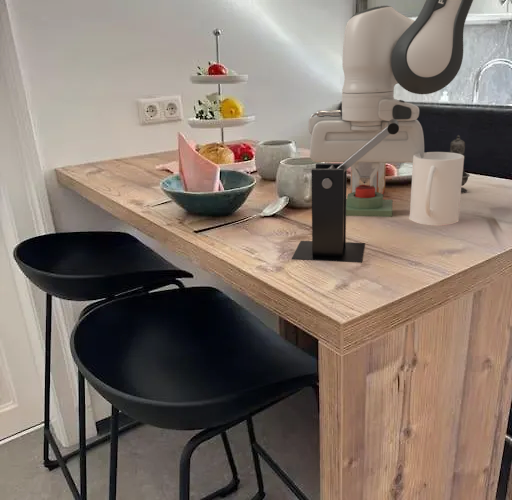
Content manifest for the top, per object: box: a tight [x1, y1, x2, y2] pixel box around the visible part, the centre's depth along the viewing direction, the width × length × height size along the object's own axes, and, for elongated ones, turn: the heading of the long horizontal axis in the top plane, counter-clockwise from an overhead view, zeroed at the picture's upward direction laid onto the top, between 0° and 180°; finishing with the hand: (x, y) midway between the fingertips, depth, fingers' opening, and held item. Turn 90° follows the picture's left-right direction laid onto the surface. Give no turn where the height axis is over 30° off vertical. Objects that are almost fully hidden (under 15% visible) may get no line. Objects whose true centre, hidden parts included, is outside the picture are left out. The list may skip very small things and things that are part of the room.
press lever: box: [328, 119, 399, 172], centre depth 69 cm, size 13×5×2 cm
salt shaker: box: [449, 134, 471, 194], centre depth 107 cm, size 6×6×12 cm
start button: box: [355, 187, 375, 198], centre depth 93 cm, size 4×4×2 cm
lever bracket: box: [291, 162, 366, 264], centre depth 73 cm, size 10×8×14 cm
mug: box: [408, 151, 465, 226], centre depth 85 cm, size 12×8×12 cm
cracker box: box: [350, 162, 387, 195], centre depth 103 cm, size 14×6×21 cm, turn 161°
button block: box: [346, 192, 393, 218], centre depth 94 cm, size 10×8×4 cm
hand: (364, 186), depth 93 cm, fingers closed
